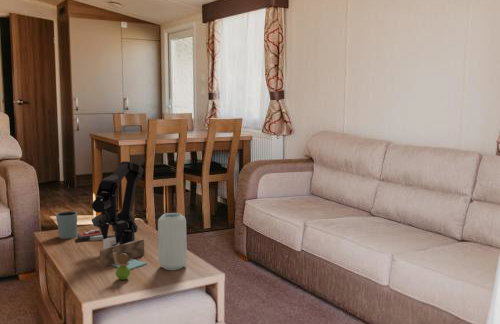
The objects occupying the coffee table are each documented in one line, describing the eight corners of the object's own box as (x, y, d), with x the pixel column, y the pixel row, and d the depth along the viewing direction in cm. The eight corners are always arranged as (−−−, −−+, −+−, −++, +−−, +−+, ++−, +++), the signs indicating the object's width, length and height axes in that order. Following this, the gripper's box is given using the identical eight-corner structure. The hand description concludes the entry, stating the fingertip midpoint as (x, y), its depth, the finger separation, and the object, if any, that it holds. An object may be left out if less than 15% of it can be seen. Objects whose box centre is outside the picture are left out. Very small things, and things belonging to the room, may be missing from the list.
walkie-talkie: (77, 244, 244) (119, 238, 253) (77, 235, 243) (119, 230, 252) (75, 239, 252) (115, 234, 261) (74, 230, 251) (115, 225, 260)
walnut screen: (142, 253, 227) (141, 238, 227) (144, 254, 227) (143, 239, 226) (100, 266, 211) (99, 250, 210) (102, 267, 210) (101, 251, 209)
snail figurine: (114, 277, 199) (113, 247, 197) (131, 276, 199) (130, 247, 198) (112, 282, 194) (111, 251, 192) (129, 281, 194) (128, 251, 193)
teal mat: (131, 259, 220) (131, 258, 220) (146, 264, 213) (146, 263, 213) (112, 265, 212) (112, 264, 212) (127, 270, 206) (127, 269, 206)
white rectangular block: (113, 251, 230) (112, 237, 230) (119, 254, 227) (119, 239, 226) (103, 254, 227) (103, 239, 226) (110, 256, 224) (109, 241, 223)
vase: (186, 261, 217) (185, 211, 214) (187, 271, 206) (186, 217, 203) (159, 263, 215) (157, 212, 212) (158, 272, 204) (157, 218, 201)
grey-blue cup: (74, 239, 250) (72, 215, 248) (53, 239, 250) (52, 215, 248) (81, 233, 260) (80, 211, 258) (61, 233, 260) (60, 210, 258)
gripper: (81, 207, 224) (83, 241, 226) (107, 213, 212) (108, 249, 214) (103, 203, 232) (104, 236, 235) (128, 209, 221) (129, 243, 223)
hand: (111, 241), depth 226 cm, fingers open, 9 cm apart
